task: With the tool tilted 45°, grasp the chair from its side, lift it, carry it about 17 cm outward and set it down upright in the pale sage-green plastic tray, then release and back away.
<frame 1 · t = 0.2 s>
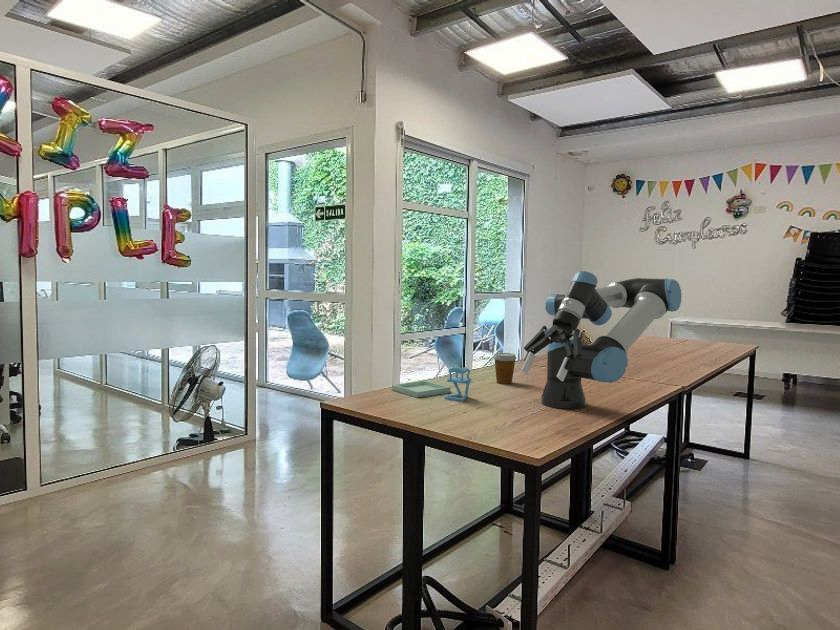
hand: (541, 375, 165), 15 cm above the table, tool tilted 35°, fingers open, 13 cm apart
tray: (421, 391, 212), on the table
disposable coffee cup: (504, 383, 231), on the table
chair: (458, 398, 202), on the table
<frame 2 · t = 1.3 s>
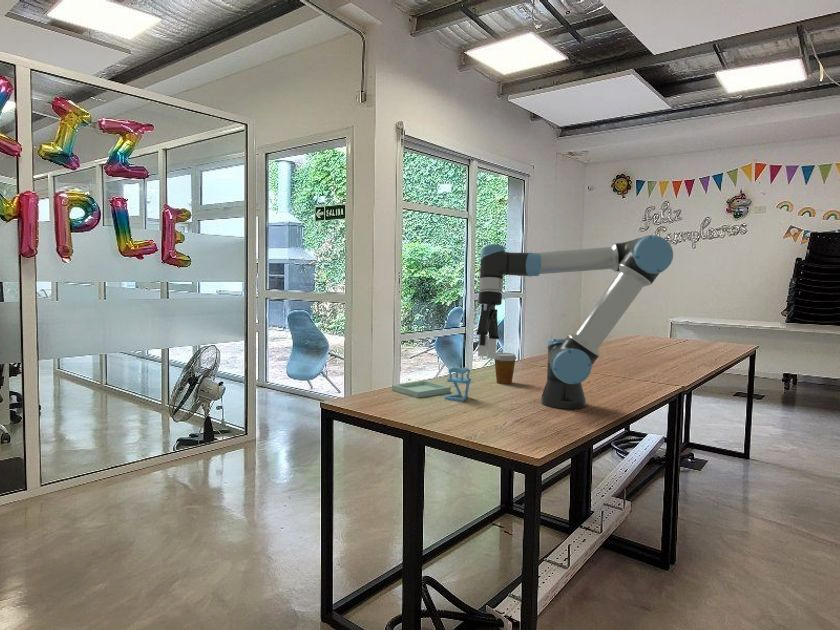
hand: (487, 357, 178), 18 cm above the table, tool pointing down, fingers open, 13 cm apart
nothing on the table moved.
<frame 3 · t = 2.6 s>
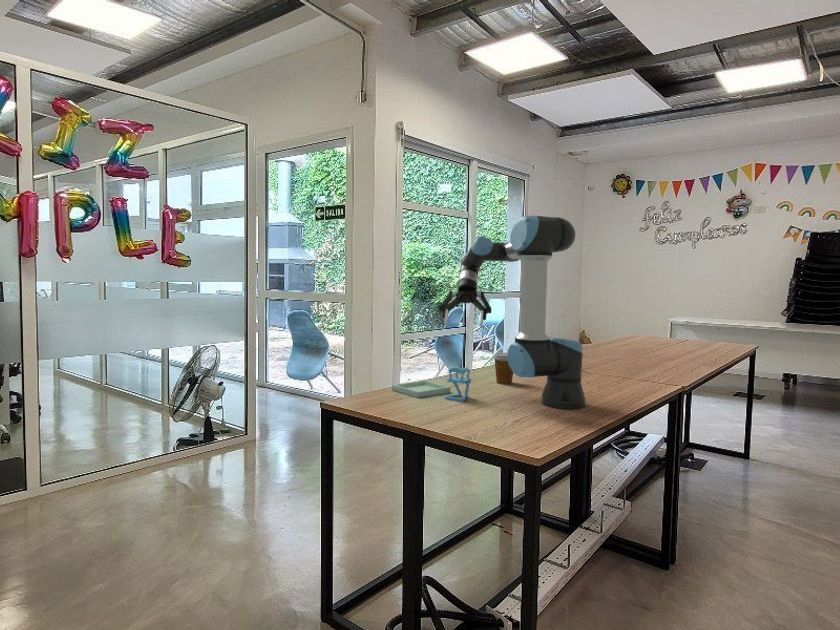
hand: (463, 325, 209), 26 cm above the table, tool tilted 45°, fingers open, 13 cm apart
nothing on the table moved.
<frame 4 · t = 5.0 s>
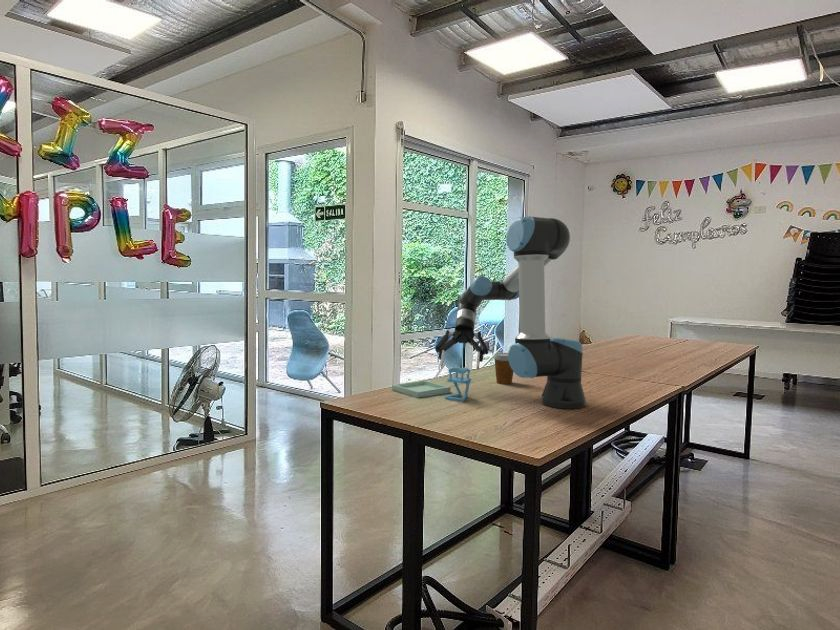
hand: (459, 367, 207), 10 cm above the table, tool tilted 45°, fingers open, 13 cm apart
nothing on the table moved.
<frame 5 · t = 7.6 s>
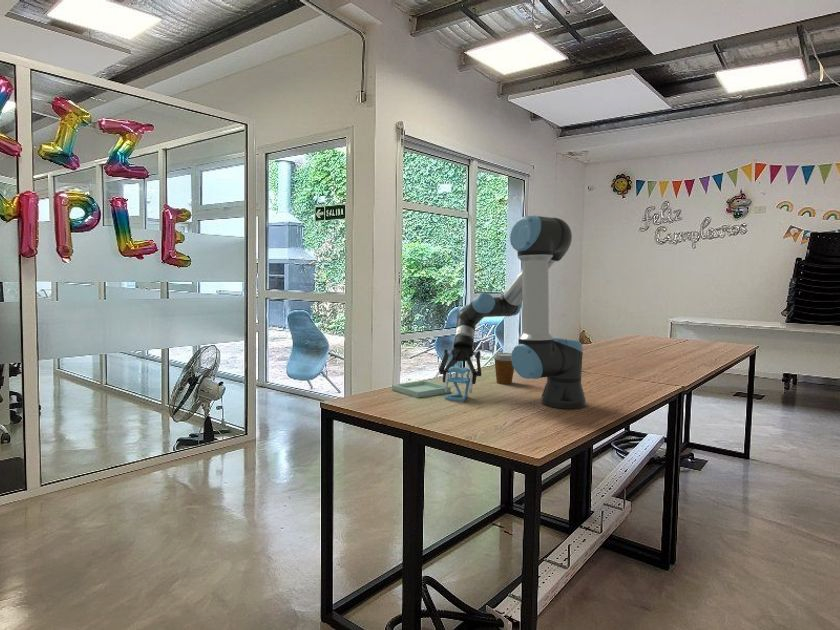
hand: (457, 390, 198), 4 cm above the table, tool tilted 45°, fingers closed on chair, 8 cm apart
chair: (458, 398, 202), on the table, touching gripper
everything else where it was.
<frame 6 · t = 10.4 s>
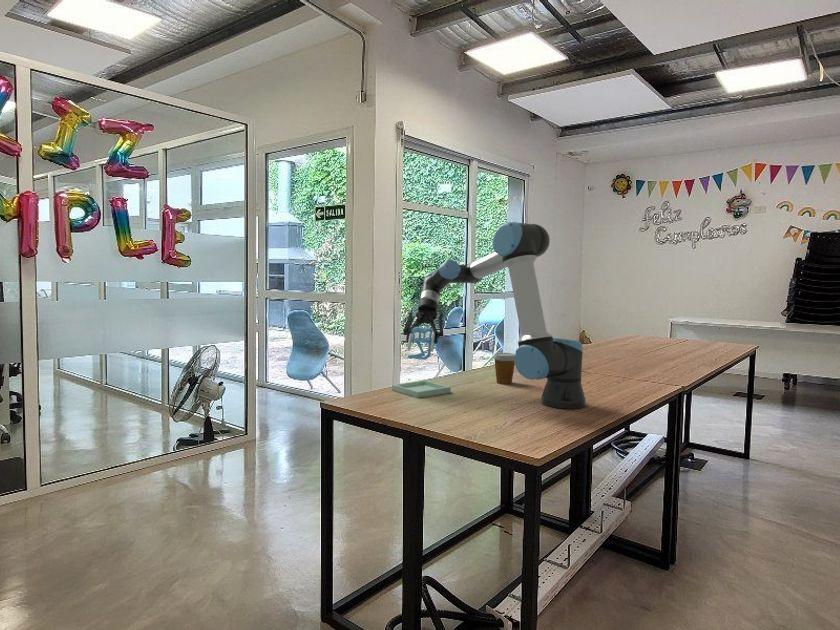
hand: (420, 349, 208), 17 cm above the table, tool tilted 45°, fingers closed on chair, 8 cm apart
chair: (421, 357, 211), point 13 cm above the table, touching gripper
everything else where it was.
when the fingers open (5 cm above the table, at t = 13.5 s): chair stays where it is, resting on tray.
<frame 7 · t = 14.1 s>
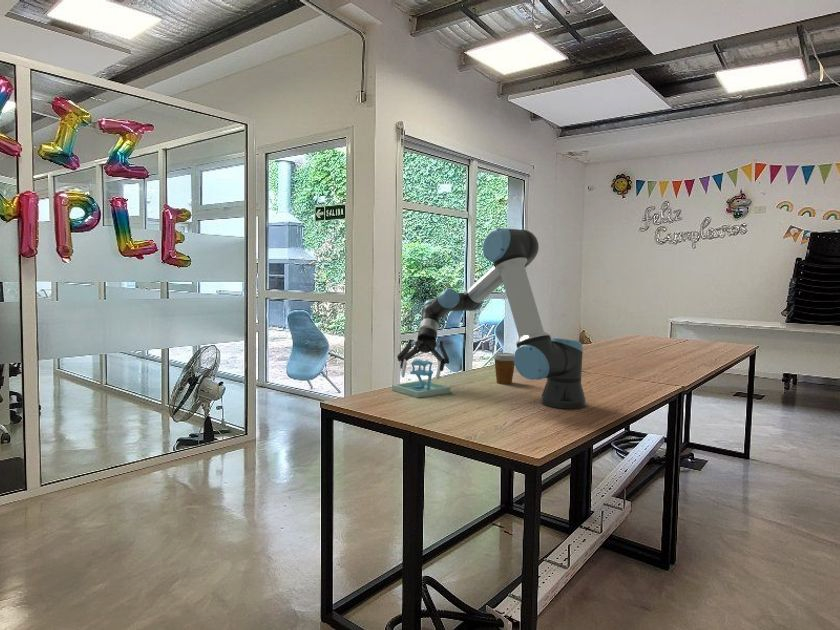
hand: (420, 376, 210), 6 cm above the table, tool tilted 45°, fingers open, 13 cm apart
chair: (421, 390, 212), resting on tray
everything else where it was.
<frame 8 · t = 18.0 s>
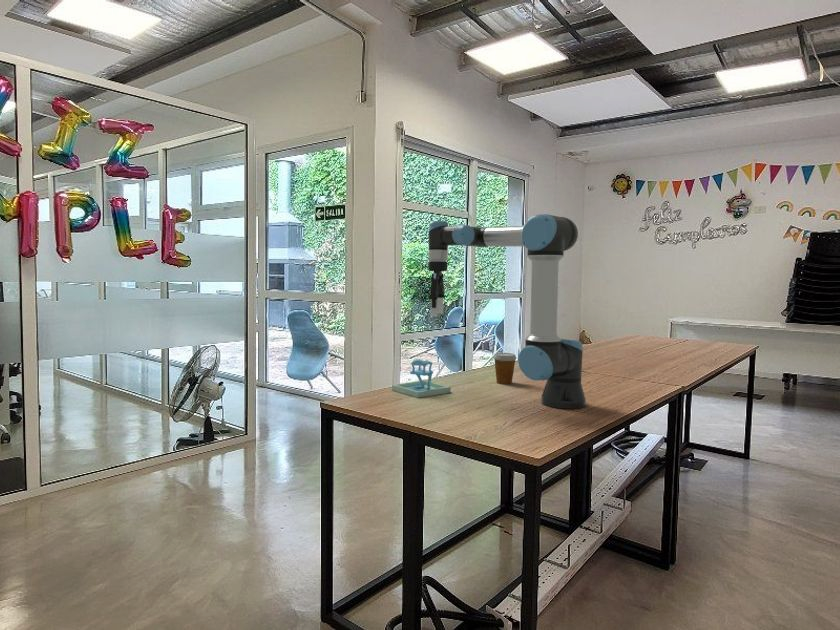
hand: (437, 315, 219), 29 cm above the table, tool pointing down, fingers open, 13 cm apart
nothing on the table moved.
at the end: chair inside the target area on the tray (0.1 cm from its centre), point 0.4 cm above the tray's base; chair tilted 0°; the gripper is holding nothing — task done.
